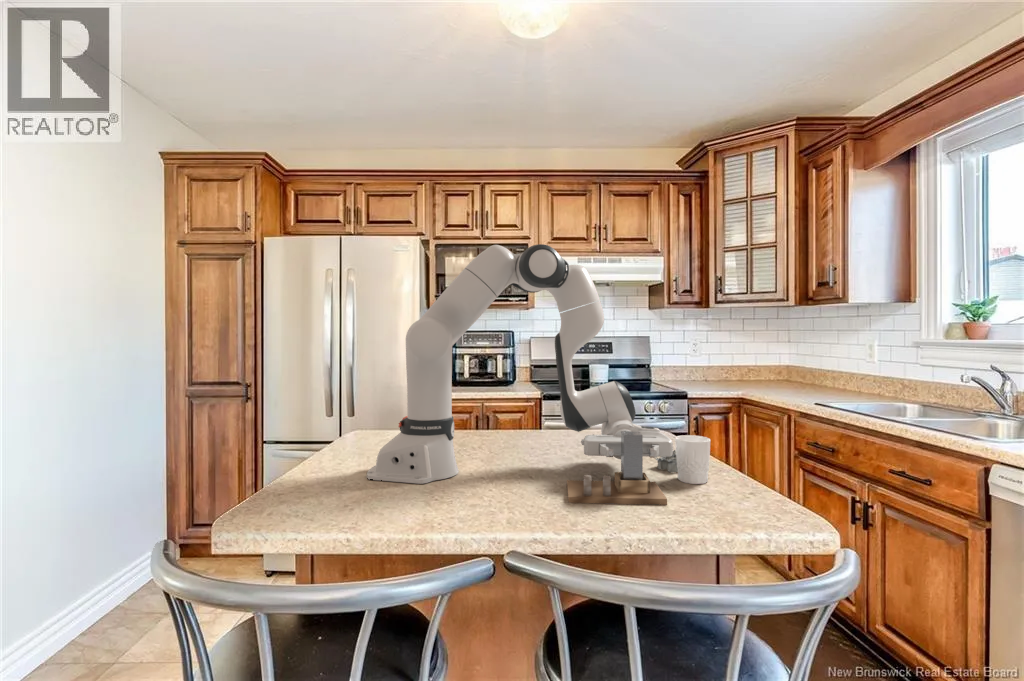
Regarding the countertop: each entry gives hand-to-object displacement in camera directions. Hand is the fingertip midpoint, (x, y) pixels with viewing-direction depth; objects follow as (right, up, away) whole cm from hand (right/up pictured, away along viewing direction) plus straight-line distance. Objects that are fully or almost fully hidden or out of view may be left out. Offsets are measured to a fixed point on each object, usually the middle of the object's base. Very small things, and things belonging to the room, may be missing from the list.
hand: (631, 453), depth 111 cm
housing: (-4, -9, 0) cm, 10 cm away
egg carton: (+17, -9, +21) cm, 29 cm away
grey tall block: (0, -7, 0) cm, 8 cm away
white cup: (+17, -9, +10) cm, 22 cm away
